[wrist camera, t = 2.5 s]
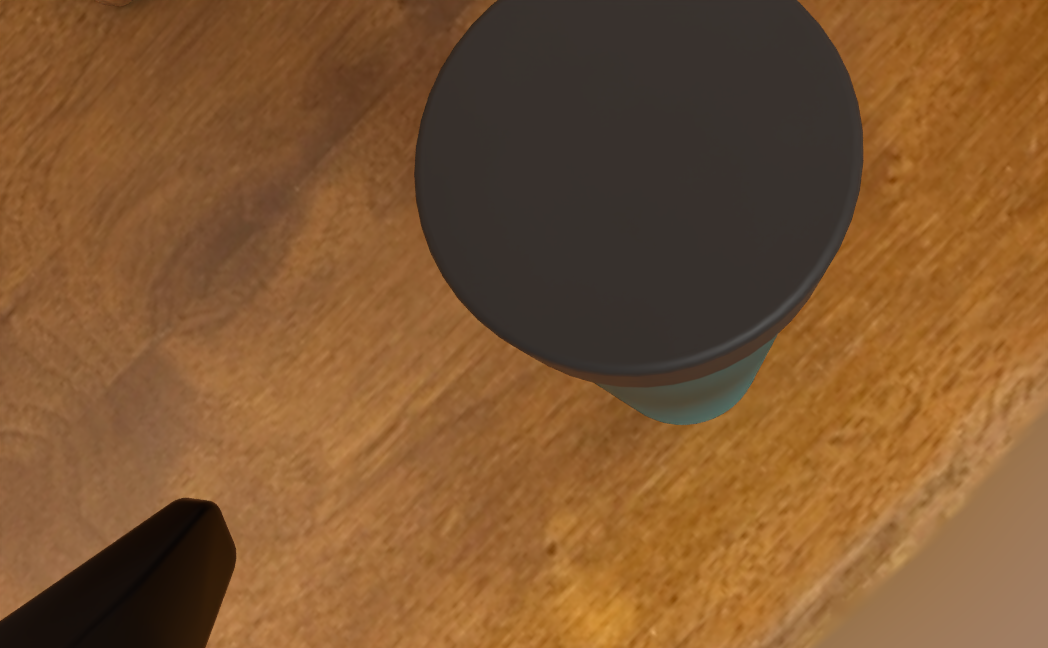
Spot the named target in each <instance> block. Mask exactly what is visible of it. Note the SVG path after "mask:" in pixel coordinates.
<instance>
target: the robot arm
mask: <svg viewBox="0 0 1048 648" xmlns="http://www.w3.org/2000/svg"><path fill="white" fill-rule="evenodd" d="M235 563H236V548H235V544H234V542H233V540H232V537H231V535H230V532H229V530H228V527H227V525H226V522H225V520H224V518H223V515H222V513H221V510H220V508H219V507H218V506H217V505H216V504H215V503H214V502H212V501H207V500H200V499H193V498H181V499H178V500H175V501H173V502H172V503H170V504H169V505H167V506H166V507H164V508H163V509H161V510H160V511H159V512H157V513H156V514H154V515H153V516H151V517H150V518H148V519H147V520H146V521H144V522H143V523H141V524H140V525H138V526H137V527H135V528H134V529H133V530H131V531H130V532H128V533H127V534H125V535H124V536H122V537H121V538H120V539H118V540H117V541H115V542H114V543H112V544H111V545H109V546H108V547H107V548H105V549H104V550H102V551H101V552H99V553H98V554H96V555H95V556H94V557H92V558H91V559H89V560H88V561H86V562H85V563H83V564H82V565H81V566H79V567H78V568H76V569H75V570H73V571H72V572H70V573H69V574H68V575H66V576H65V577H63V578H62V579H60V580H59V581H57V582H56V583H55V584H53V585H52V586H50V587H49V588H47V589H46V590H44V591H43V592H42V593H40V594H39V595H37V596H36V597H34V598H33V599H31V600H30V601H29V602H27V603H26V604H24V605H23V606H21V607H20V608H18V609H17V610H15V611H14V612H13V613H11V614H10V615H8V616H7V617H5V618H4V619H2V620H1V621H0V648H205V647H206V645H207V642H208V639H209V637H210V634H211V631H212V628H213V626H214V623H215V620H216V617H217V615H218V612H219V609H220V607H221V604H222V601H223V598H224V596H225V593H226V590H227V587H228V585H229V582H230V579H231V577H232V574H233V571H234V568H235Z"/></svg>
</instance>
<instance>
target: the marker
mask: <svg viewBox="0 0 1048 648" xmlns="http://www.w3.org/2000/svg"><path fill="white" fill-rule="evenodd" d="M862 168H863V130H862V124H861V118H860V112H859V106H858V101H857V98H856V95H855V91H854V88H853V85H852V82H851V79H850V76H849V73H848V71H847V69H846V67H845V65H844V63H843V61H842V59H841V57H840V55H839V53H838V51H837V49H836V47H835V46H834V45H833V43H832V42H831V40H830V39H829V37H828V36H827V34H826V33H825V31H824V30H823V29H822V27H821V26H820V24H819V23H818V22H817V21H816V20H815V19H814V18H813V17H812V16H811V15H810V14H809V12H808V11H807V10H806V9H805V8H804V7H803V6H802V5H801V4H800V3H799V2H798V1H797V0H498V1H496V2H495V3H494V4H493V5H491V6H490V7H489V8H488V9H487V10H486V11H485V12H484V13H483V14H482V15H481V16H480V17H479V18H478V19H477V20H476V21H475V22H474V23H473V24H472V25H471V27H470V28H469V29H468V30H467V32H466V33H465V34H464V35H463V37H462V38H461V39H460V41H459V42H458V43H457V44H456V46H455V47H454V49H453V50H452V52H451V53H450V55H449V57H448V58H447V60H446V62H445V63H444V65H443V66H442V68H441V70H440V72H439V74H438V76H437V78H436V81H435V83H434V85H433V87H432V89H431V92H430V94H429V97H428V100H427V103H426V106H425V109H424V112H423V116H422V119H421V123H420V129H419V134H418V139H417V145H416V154H415V172H414V177H415V191H416V203H417V207H418V212H419V217H420V222H421V226H422V230H423V233H424V235H425V238H426V241H427V244H428V247H429V250H430V252H431V255H432V256H433V258H434V260H435V262H436V264H437V266H438V268H439V270H440V272H441V274H442V276H443V278H444V279H445V280H446V282H447V283H448V285H449V286H450V288H451V289H452V290H453V292H454V293H455V295H456V296H457V298H458V299H459V300H460V301H461V302H462V303H463V304H464V306H465V307H466V308H467V309H468V310H469V311H470V312H471V313H472V314H473V315H474V316H475V317H476V318H477V319H478V320H479V321H480V322H481V323H482V324H484V325H485V326H486V327H487V328H489V329H490V330H491V331H492V332H493V333H495V334H496V335H497V336H498V337H500V338H501V339H503V340H505V341H506V342H508V343H510V344H511V345H513V346H514V347H516V348H518V349H519V350H521V351H523V352H524V353H526V354H528V355H530V356H531V357H533V358H535V359H537V360H538V361H540V362H542V363H544V364H546V365H547V366H549V367H552V368H554V369H556V370H558V371H561V372H563V373H565V374H568V375H570V376H573V377H576V378H580V379H583V380H587V381H590V382H593V383H595V384H597V385H598V386H600V387H602V388H603V389H605V390H606V391H608V392H609V393H611V394H612V395H614V396H616V397H617V398H619V399H620V400H622V401H623V402H625V403H626V404H628V405H629V406H631V407H633V408H634V409H636V410H637V411H639V412H641V413H642V414H644V415H645V416H647V417H650V418H652V419H654V420H657V421H660V422H664V423H669V424H676V425H688V424H697V423H701V422H705V421H708V420H711V419H713V418H716V417H718V416H719V415H721V414H723V413H725V412H726V411H728V410H729V409H730V408H732V407H733V406H734V405H735V404H736V403H737V402H738V401H739V400H740V399H741V398H742V397H743V395H744V394H745V393H746V392H747V390H748V388H749V387H750V385H751V383H752V382H753V380H754V378H755V376H756V374H757V372H758V370H759V368H760V366H761V365H762V363H763V361H764V359H765V357H766V355H767V353H768V351H769V349H770V348H771V346H772V344H773V342H774V340H775V338H776V336H777V334H778V333H779V332H780V331H781V330H782V329H783V328H784V327H785V326H786V325H787V324H788V323H790V322H791V321H792V319H793V318H794V317H795V316H796V314H797V313H798V312H799V311H800V309H801V308H802V307H803V306H804V304H805V303H806V302H807V301H808V299H809V298H810V296H811V294H812V293H813V291H814V290H815V288H816V286H817V285H818V283H819V281H820V280H821V278H822V276H823V275H824V273H825V271H826V270H827V268H828V266H829V265H830V263H831V261H832V260H833V258H834V256H835V255H836V253H837V251H838V250H839V248H840V246H841V244H842V241H843V239H844V237H845V234H846V232H847V230H848V227H849V225H850V223H851V220H852V217H853V213H854V209H855V206H856V202H857V198H858V195H859V191H860V184H861V176H862Z"/></svg>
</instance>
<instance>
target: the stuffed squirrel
mask: <svg viewBox="0 0 1048 648" xmlns="http://www.w3.org/2000/svg"><path fill="white" fill-rule="evenodd" d="M95 1H97V2H99V3H102V4H105V5H116V6H124V5H127V4H129V3H130V2H131V1H133V0H95Z"/></svg>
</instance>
